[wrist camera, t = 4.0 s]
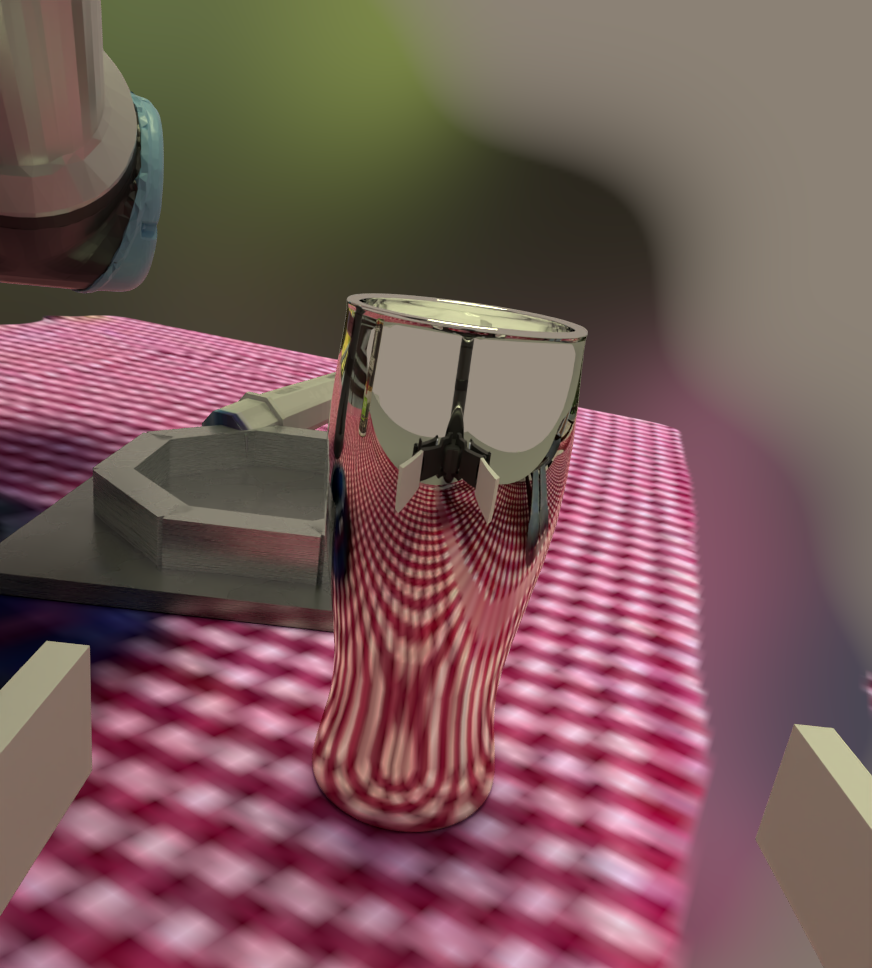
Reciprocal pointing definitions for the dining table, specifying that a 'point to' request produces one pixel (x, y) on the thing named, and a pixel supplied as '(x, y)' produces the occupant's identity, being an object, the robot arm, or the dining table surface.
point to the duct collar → (189, 530)
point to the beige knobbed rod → (279, 407)
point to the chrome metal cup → (435, 541)
